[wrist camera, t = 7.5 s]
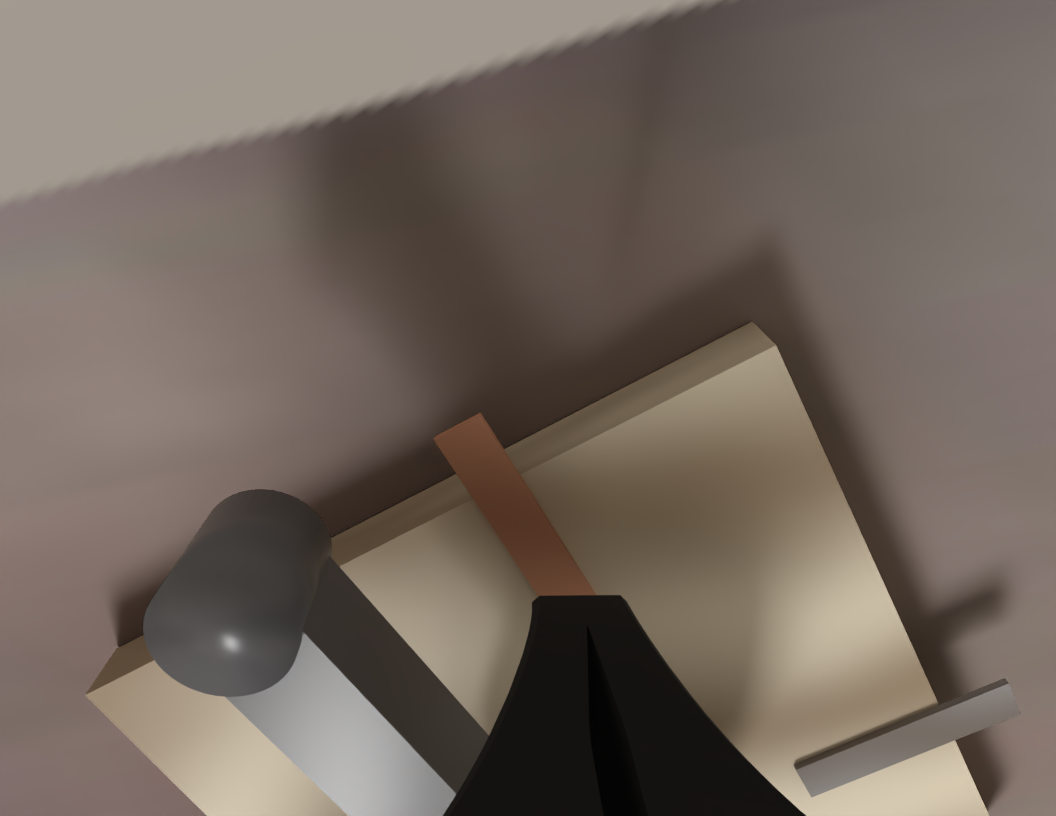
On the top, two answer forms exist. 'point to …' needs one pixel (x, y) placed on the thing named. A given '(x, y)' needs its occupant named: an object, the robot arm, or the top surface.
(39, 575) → the top surface
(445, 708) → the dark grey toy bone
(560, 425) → the base
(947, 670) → the top surface
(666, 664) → the robot arm
